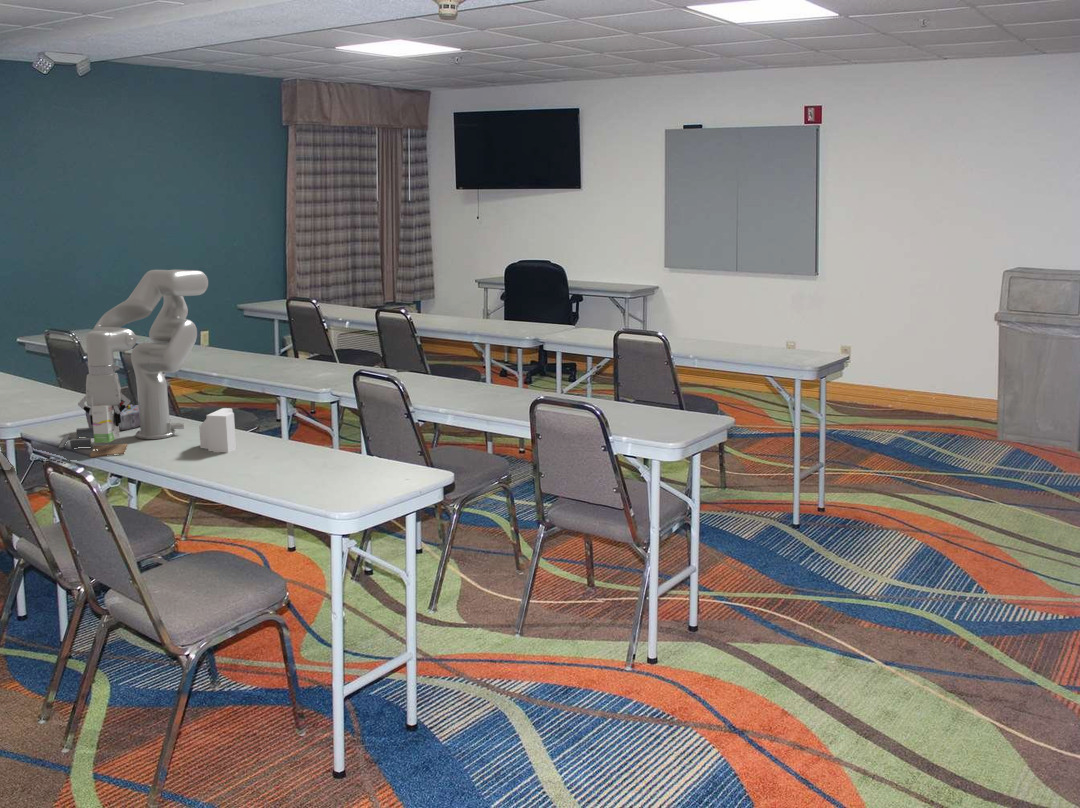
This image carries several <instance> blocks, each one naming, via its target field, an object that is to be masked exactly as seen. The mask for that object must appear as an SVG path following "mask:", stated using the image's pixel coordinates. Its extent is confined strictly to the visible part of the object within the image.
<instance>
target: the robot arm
mask: <svg viewBox="0 0 1080 808" xmlns="http://www.w3.org/2000/svg"><path fill="white" fill-rule="evenodd" d="M208 287H209V278H208V276H207V274H205V272H203V271H202V270H198V269H169V270H168V269H151V270H148V271H146V272H145V274H143V276H142V278H141V280H140V281H139V282H138V283H137V285H136V287H135V288H134V289H133V291H132V292H131V294H130V295H129V297H128V298H127V299H126V300H124V301H122V302H120V303H119V304H116V306H114V307H112V308H111V309H109V310H108V311H106V312H104V314H103V315H102V316H101V317H100V318H99V319H98V321H97V322H96V324H95V325H94V327H93V329H92V331H88V332H87V333H86V335H85V344H86V354H87V365H88V374H86V379H85V380H86V381H85V396H83V397H82V398H81V400H80V401H78V403H77V406H79V407H80V408H81V409H82V410H84V411H85V413H86V412H87V413H88V414H89V415H90V418H91V425H93V419H92V396H93V404H94V406H97V405H111V406H113V407H114V409H115V411H116V413H115V422H116V426H119V423H121V415H120V413H121V412H122V411H123V410H124V408H125V407H126V406H127V405H128V404H129V405H130V404H131V399H130V398H128V397H127V396H126V395H124V394H123V393H122V388H121V381H120V378H119V375H118V373H117V372H116V371H120V366H119V365H116V364H115V360H114V353H115V352H116V353H117V352H127V351H130V350H131V353H130V360H131V364H132V367H133V370H134V371H133V372H134V375H135V383H136V391H137V392H136V393H137V403H138V404H137V405H138V406H139V418H140V426H139V427H140V430H138V431H137V432H136V433H135V437H136V438H137V439H142V440H157V439H158V440H159V439H166V438H170V437H172V436H175V435H176V430H184V429H185V423H183V422H182V423H181V422H172V419H170V407H169V396H168V395H169V394H168V383H167V379H166V377H165V375H164V373H167V374H170V373H171V374H172V373H173V374H174V373H177V372H179V370H181V368H183V366H184V364H185V363H186V361H187V359H188V358H189V356H190V353H191V351H192V350H193V348H194V346H195V343H196V342H197V338H198V329H197V326H196V324H195V322H193V321H192V320H191V319H188V318H187V317H188V312H189V309H188V305H187V303H186V301H185V297H192V296H194V297H195V296H201V295H203V294H204V293H205V292H206V291H207V289H208ZM162 298H163V305H162V307H161V308H160V310H159V312H158V314H157V316H156V317H155V319H154V321H153V323H152V325H151V327H150V329H149V331H148V333H149V335H148V336H149V337H148V338H149V339H150V341H151V342H141V343H138V344H137V335H136V333H135V332H134V331H133V330H131V329H129V328H126V327H123V326H125V325H128V324H129V323H133V322H136V321H140V320H143V319H145V318H148V317H149V316H150V315H151V314H152V312H153V311H154V310H155V308H156V307H157V305H158V304H159V302H160V301H161V300H162ZM121 402H124V404H122V405H121V406H120V407H119V404H120V403H121ZM85 403H86V404H85ZM87 405H88V406H91V408H89V407H88V406H87Z"/></svg>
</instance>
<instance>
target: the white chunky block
mask: <svg viewBox="0 0 1080 808" xmlns="http://www.w3.org/2000/svg"><path fill="white" fill-rule="evenodd" d="M205 416H206V419H205V420H204V421H203V422H202V423H201V424H200V425H199V426H198V427H199V441H200V442H199V443H200V449H201V448H205V449H206V450H208V452H209V451H214V452H213V453H219V452H226V453H225V454H229V453H231V452H233V451H235V450H236V449H237V443H236V442H237V440H236V427H235V426H236V425H235V412H233V408H230V407H228V408H227V407H222V408H220V409H217V410H216V411H213V412H211V413H209V414H206V415H205ZM205 449H204V450H205ZM228 452H229V453H228Z"/></svg>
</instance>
